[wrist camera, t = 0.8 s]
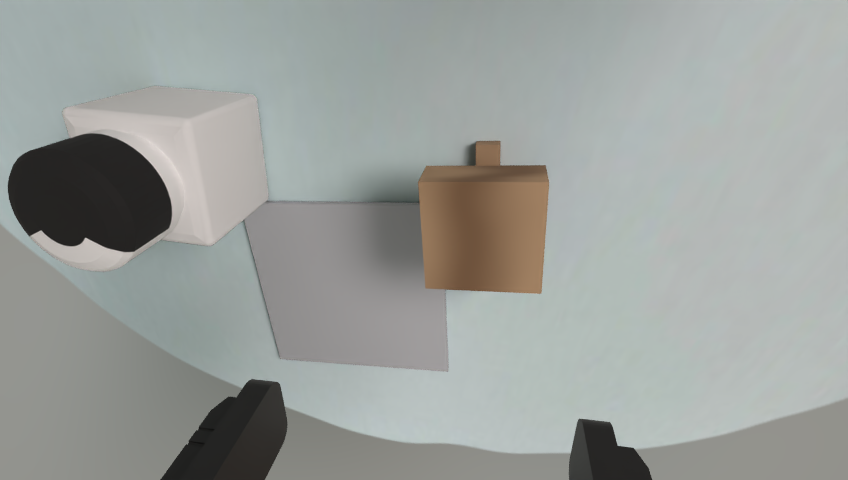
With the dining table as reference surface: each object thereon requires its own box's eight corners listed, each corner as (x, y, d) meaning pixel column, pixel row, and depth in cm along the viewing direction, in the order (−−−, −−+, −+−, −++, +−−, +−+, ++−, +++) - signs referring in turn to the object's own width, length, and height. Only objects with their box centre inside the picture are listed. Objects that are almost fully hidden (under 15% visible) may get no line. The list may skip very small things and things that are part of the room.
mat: (441, 202, 30) (440, 205, 29) (448, 367, 36) (448, 371, 36) (242, 200, 32) (239, 203, 32) (282, 355, 38) (280, 359, 38)
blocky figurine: (153, 84, 29) (-48, 132, 19) (258, 93, 28) (110, 149, 18) (176, 189, 33) (17, 279, 22) (271, 200, 32) (152, 299, 21)
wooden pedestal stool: (540, 140, 27) (549, 182, 21) (534, 232, 29) (541, 293, 23) (438, 141, 28) (418, 182, 22) (442, 230, 31) (425, 288, 24)
